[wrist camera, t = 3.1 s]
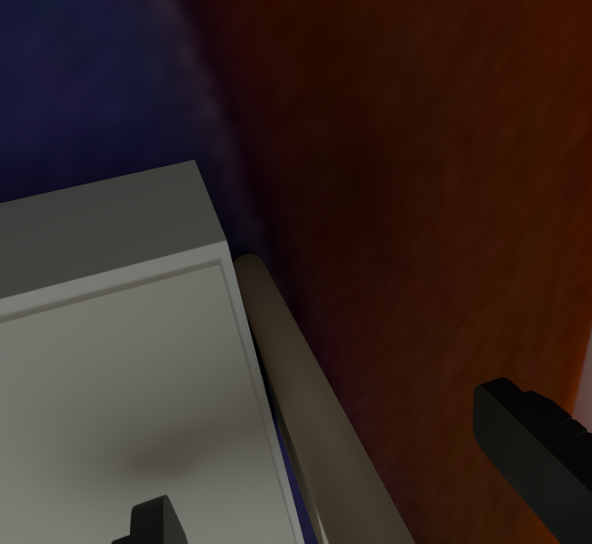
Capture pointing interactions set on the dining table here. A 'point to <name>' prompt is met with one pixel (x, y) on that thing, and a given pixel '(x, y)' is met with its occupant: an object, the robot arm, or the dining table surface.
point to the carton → (131, 369)
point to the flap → (316, 425)
